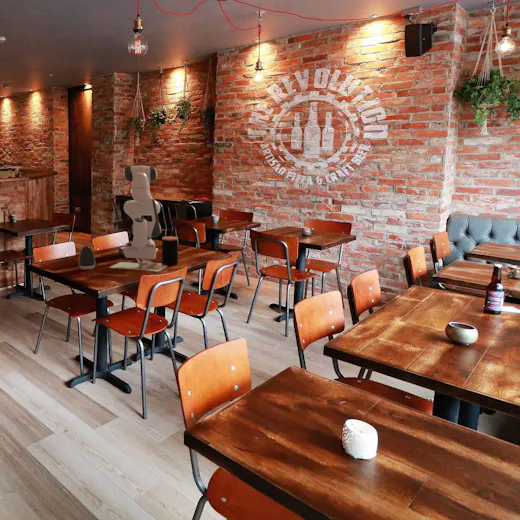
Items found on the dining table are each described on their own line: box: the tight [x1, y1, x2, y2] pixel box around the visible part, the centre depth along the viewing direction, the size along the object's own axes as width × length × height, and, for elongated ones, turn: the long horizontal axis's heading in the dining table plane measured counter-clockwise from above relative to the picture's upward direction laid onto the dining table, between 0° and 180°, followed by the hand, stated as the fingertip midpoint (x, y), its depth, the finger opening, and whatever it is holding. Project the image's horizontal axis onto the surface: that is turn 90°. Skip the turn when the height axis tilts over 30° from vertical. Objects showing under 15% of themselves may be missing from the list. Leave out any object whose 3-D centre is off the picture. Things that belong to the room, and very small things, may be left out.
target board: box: [109, 261, 169, 274], centre depth 299 cm, size 16×33×1 cm, turn 81°
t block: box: [139, 259, 163, 269], centre depth 297 cm, size 12×12×3 cm
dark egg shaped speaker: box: [77, 245, 97, 271], centre depth 289 cm, size 10×10×15 cm
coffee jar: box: [161, 235, 179, 266], centre depth 312 cm, size 11×11×18 cm
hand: (140, 264), depth 298 cm, fingers closed
